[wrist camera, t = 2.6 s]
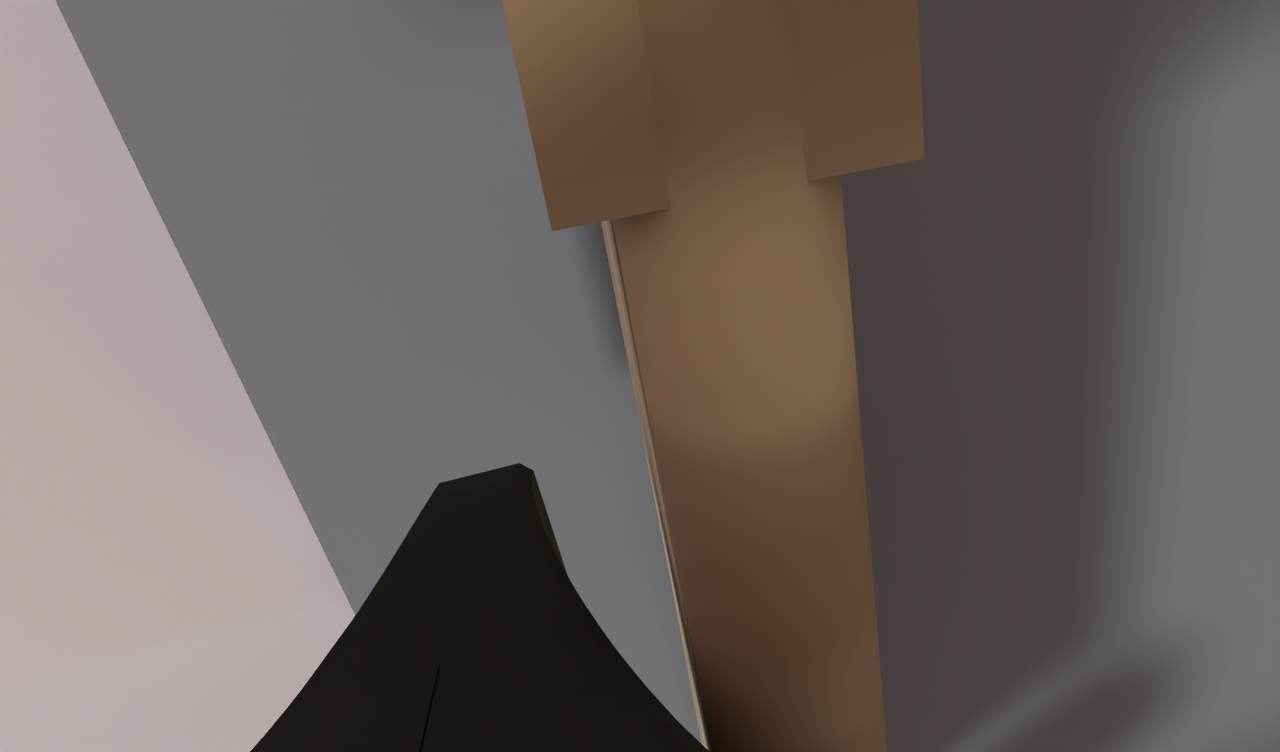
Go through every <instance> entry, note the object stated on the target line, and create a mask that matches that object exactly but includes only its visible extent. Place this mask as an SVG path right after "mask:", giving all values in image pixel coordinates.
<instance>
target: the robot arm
mask: <svg viewBox="0 0 1280 752" xmlns="http://www.w3.org/2000/svg"><path fill="white" fill-rule="evenodd" d="M250 752H710V751H708V750H707V749H706V748H705V747H704V746H703V745H702V744H701V743H700V742H699V741H698V740H697V739H696V738H695V737H694V736H693V735H692V734H691V733H690V732H689V731H688V730H687V729H685V728H684V727H683V726H682V725H681V724H680V723H679V722H678V721H677V720H676V719H675V717H674V716H673V715H672V714H671V713H670V712H669V711H668V710H667V709H666V708H665V706H664V705H663V704H662V703H661V702H660V701H659V700H658V699H657V698H656V696H655V695H654V694H653V693H652V692H651V691H650V690H649V689H648V688H647V686H646V685H645V684H644V683H643V682H642V680H641V679H640V678H639V677H638V676H637V674H636V673H635V672H634V671H633V669H632V668H631V667H630V666H629V665H628V663H627V662H626V661H625V660H624V658H623V657H622V656H621V655H620V653H619V652H618V651H617V649H616V648H615V647H614V645H613V644H612V643H611V641H610V640H609V639H608V637H607V636H606V634H605V633H604V632H603V630H602V629H601V627H600V626H599V624H598V623H597V621H596V620H595V619H594V617H593V616H592V614H591V613H590V611H589V610H588V608H587V607H586V605H585V604H584V602H583V601H582V599H581V597H580V596H579V594H578V592H577V591H576V589H575V588H574V586H573V584H572V583H571V581H570V579H569V577H568V575H567V572H566V569H565V566H564V563H563V560H562V557H561V554H560V550H559V547H558V544H557V541H556V538H555V535H554V532H553V529H552V526H551V523H550V520H549V517H548V514H547V511H546V508H545V504H544V501H543V498H542V495H541V492H540V489H539V486H538V483H537V480H536V477H535V474H534V471H533V470H532V469H530V468H528V467H526V466H524V465H522V464H520V463H517V464H513V465H509V466H505V467H501V468H497V469H493V470H489V471H485V472H481V473H477V474H473V475H469V476H465V477H461V478H457V479H453V480H449V481H445V482H442V483H439V484H438V486H437V487H436V489H435V490H434V492H433V493H432V495H431V496H430V498H429V500H428V501H427V503H426V504H425V506H424V507H423V509H422V510H421V512H420V514H419V515H418V517H417V519H416V520H415V522H414V523H413V525H412V527H411V528H410V530H409V532H408V533H407V535H406V537H405V538H404V540H403V541H402V543H401V545H400V546H399V548H398V550H397V551H396V553H395V554H394V556H393V558H392V559H391V561H390V563H389V564H388V566H387V567H386V569H385V571H384V572H383V574H382V575H381V577H380V578H379V580H378V582H377V583H376V585H375V586H374V588H373V589H372V591H371V592H370V594H369V595H368V597H367V598H366V600H365V601H364V603H363V605H362V606H361V608H360V609H359V611H358V612H357V614H356V615H355V617H354V618H353V620H352V621H351V623H350V624H349V626H348V627H347V628H346V630H345V631H344V632H343V634H342V635H341V637H340V638H339V639H338V641H337V642H336V643H335V645H334V646H333V648H332V649H331V650H330V652H329V653H328V654H327V656H326V657H325V658H324V660H323V661H322V663H321V664H320V665H319V667H318V668H317V669H316V671H315V672H314V674H313V675H312V676H311V678H310V679H309V680H308V682H307V683H306V685H305V686H304V687H303V689H302V690H301V691H300V693H299V694H298V695H297V696H296V698H295V699H294V700H293V701H292V703H291V704H290V705H289V706H288V708H287V709H286V710H285V711H284V713H283V714H282V715H281V716H280V717H279V719H278V720H277V721H276V722H275V724H274V725H273V726H272V727H271V728H270V730H269V731H268V732H267V733H266V734H265V735H264V737H263V738H262V739H261V740H260V741H259V742H258V743H257V745H256V746H255V747H254V748H253V749H252V750H251V751H250Z"/></svg>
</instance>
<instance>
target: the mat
mask: <svg viewBox="0 0 1280 752" xmlns="http://www.w3.org/2000/svg"><path fill="white" fill-rule="evenodd" d="M56 2H57V4H58V6H59V8H60V11H61V13H62V15H63V17H64V19H65V21H66V23H67V25H68V27H69V29H70V31H71V33H72V35H73V37H74V39H75V41H76V43H77V45H78V47H79V49H80V51H81V54H82V56H83V58H84V60H85V62H86V64H87V66H88V68H89V70H90V72H91V74H92V76H93V78H94V80H95V82H96V84H97V86H98V88H99V90H100V92H101V95H102V97H103V99H104V101H105V103H106V105H107V107H108V109H109V111H110V113H111V115H112V117H113V119H114V121H115V123H116V125H117V127H118V129H119V131H120V133H121V136H122V138H123V140H124V142H125V144H126V146H127V148H128V150H129V152H130V154H131V156H132V158H133V160H134V162H135V164H136V166H137V168H138V170H139V172H140V174H141V177H142V179H143V181H144V183H145V185H146V187H147V189H148V191H149V193H150V195H151V197H152V199H153V201H154V203H155V205H156V207H157V209H158V211H159V213H160V215H161V218H162V220H163V222H164V224H165V226H166V228H167V230H168V232H169V234H170V236H171V238H172V240H173V242H174V244H175V246H176V248H177V250H178V252H179V254H180V256H181V259H182V261H183V263H184V265H185V267H186V269H187V271H188V273H189V275H190V277H191V279H192V281H193V283H194V285H195V287H196V289H197V291H198V293H199V295H200V297H201V300H202V302H203V304H204V306H205V308H206V310H207V312H208V314H209V316H210V318H211V320H212V322H213V324H214V326H215V328H216V330H217V332H218V334H219V336H220V338H221V341H222V343H223V345H224V347H225V349H226V351H227V353H228V355H229V357H230V359H231V361H232V363H233V365H234V367H235V369H236V371H237V373H238V375H239V377H240V379H241V382H242V384H243V386H244V388H245V390H246V392H247V394H248V396H249V398H250V400H251V402H252V404H253V406H254V408H255V410H256V412H257V414H258V416H259V418H260V420H261V423H262V425H263V427H264V429H265V431H266V433H267V435H268V437H269V439H270V441H271V443H272V445H273V447H274V449H275V451H276V453H277V455H278V457H279V459H280V461H281V464H282V466H283V468H284V470H285V472H286V474H287V476H288V478H289V480H290V482H291V484H292V486H293V488H294V490H295V492H296V494H297V496H298V498H299V500H300V502H301V505H302V507H303V509H304V511H305V513H306V515H307V517H308V519H309V521H310V523H311V525H312V527H313V529H314V531H315V533H316V535H317V537H318V539H319V541H320V543H321V546H322V548H323V550H324V552H325V554H326V556H327V558H328V560H329V562H330V564H331V566H332V568H333V570H334V572H335V574H336V576H337V578H338V580H339V582H340V584H341V587H342V589H343V591H344V593H345V595H346V597H347V599H348V601H349V603H350V605H351V607H352V609H353V611H354V613H355V615H356V614H357V612H358V611H359V609H360V608H361V606H362V605H363V603H364V601H365V600H366V598H367V597H368V595H369V594H370V592H371V591H372V589H373V588H374V586H375V585H376V583H377V582H378V580H379V578H380V577H381V575H382V574H383V572H384V571H385V569H386V567H387V566H388V564H389V563H390V561H391V559H392V558H393V556H394V554H395V553H396V551H397V550H398V548H399V546H400V545H401V543H402V541H403V540H404V538H405V537H406V535H407V533H408V532H409V530H410V528H411V527H412V525H413V523H414V522H415V520H416V519H417V517H418V515H419V514H420V512H421V510H422V509H423V507H424V506H425V504H426V503H427V501H428V500H429V498H430V496H431V495H432V493H433V492H434V490H435V489H436V487H437V486H438V484H439V483H442V482H445V481H449V480H453V479H457V478H461V477H465V476H469V475H473V474H477V473H481V472H485V471H489V470H493V469H497V468H501V467H505V466H509V465H513V464H517V463H520V464H522V465H524V466H526V467H528V468H530V469H532V470H533V471H534V474H535V477H536V480H537V483H538V486H539V489H540V492H541V495H542V498H543V501H544V504H545V508H546V511H547V514H548V517H549V520H550V523H551V526H552V529H553V532H554V535H555V538H556V541H557V544H558V547H559V550H560V554H561V557H562V560H563V563H564V566H565V569H566V572H567V575H568V577H569V579H570V581H571V583H572V584H573V586H574V588H575V589H576V591H577V592H578V594H579V596H580V597H581V599H582V601H583V602H584V604H585V605H586V607H587V608H588V610H589V611H590V613H591V614H592V616H593V617H594V619H595V620H596V621H597V623H598V624H599V626H600V627H601V629H602V630H603V632H604V633H605V634H606V636H607V637H608V639H609V640H610V641H611V643H612V644H613V645H614V647H615V648H616V649H617V651H618V652H619V653H620V655H621V656H622V657H623V658H624V660H625V661H626V662H627V663H628V665H629V666H630V667H631V668H632V669H633V671H634V672H635V673H636V674H637V676H638V677H639V678H640V679H641V680H642V682H643V683H644V684H645V685H646V686H647V688H648V689H649V690H650V691H651V692H652V693H653V694H654V695H655V696H656V698H657V699H658V700H659V701H660V702H661V703H662V704H663V705H664V706H665V708H666V709H667V710H668V711H669V712H670V713H671V714H672V715H673V716H674V717H675V719H676V720H677V721H678V722H679V723H680V724H681V725H682V726H683V727H684V728H685V729H687V730H688V731H689V732H690V733H691V734H692V735H693V736H694V737H695V738H696V739H697V740H698V741H699V742H700V743H701V744H702V742H701V737H700V731H699V726H698V721H697V716H696V711H695V705H694V700H693V695H692V690H691V685H690V680H689V674H688V669H687V664H686V659H685V654H684V649H683V643H682V638H681V633H680V628H679V623H678V618H677V612H676V607H675V602H674V597H673V592H672V587H671V581H670V576H669V571H668V566H667V561H666V556H665V550H664V545H663V540H662V535H661V530H660V525H659V519H658V514H657V509H656V504H655V499H654V494H653V488H652V483H651V478H650V473H649V468H648V462H647V457H646V452H645V447H644V442H643V437H642V431H641V426H640V421H639V416H638V411H637V406H636V400H635V395H634V390H633V385H632V380H631V375H630V369H629V364H628V359H627V354H626V349H625V344H624V338H623V333H622V328H621V323H620V318H619V313H618V307H617V302H616V297H615V292H614V287H613V282H612V276H611V271H610V266H609V261H608V256H607V251H606V245H605V240H604V235H603V230H602V225H601V222H598V223H593V224H588V225H583V226H578V227H572V228H567V229H562V230H557V231H552V230H551V225H550V220H549V216H548V211H547V207H546V202H545V197H544V193H543V188H542V184H541V179H540V174H539V170H538V165H537V161H536V156H535V151H534V147H533V142H532V138H531V133H530V128H529V124H528V119H527V115H526V110H525V105H524V101H523V96H522V92H521V87H520V82H519V78H518V73H517V69H516V64H515V59H514V55H513V50H512V45H511V41H510V36H509V32H508V27H507V22H506V18H505V13H504V9H503V4H502V0H56ZM918 16H919V39H920V63H921V87H922V111H923V135H924V159H920V160H914V161H909V162H904V163H899V164H894V165H889V166H884V167H879V168H874V169H868V170H863V171H858V172H853V173H848V174H843V175H841V184H842V197H843V209H844V222H845V234H846V247H847V259H848V272H849V284H850V296H851V309H852V321H853V334H854V346H855V359H856V371H857V384H858V396H859V409H860V421H861V433H862V446H863V458H864V471H865V483H866V496H867V508H868V521H869V533H870V546H871V558H872V570H873V583H874V595H875V608H876V620H877V633H878V645H879V658H880V670H881V683H882V695H883V707H884V720H885V732H886V745H887V752H1280V0H918Z"/></svg>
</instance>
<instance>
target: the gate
mask: <svg viewBox="0 0 1280 752" xmlns="http://www.w3.org/2000/svg"><path fill="white" fill-rule="evenodd" d="M502 4H503V9H504V13H505V18H506V22H507V27H508V32H509V36H510V41H511V45H512V50H513V55H514V59H515V64H516V69H517V73H518V78H519V82H520V87H521V92H522V96H523V101H524V105H525V110H526V115H527V119H528V124H529V128H530V133H531V138H532V142H533V147H534V151H535V156H536V161H537V165H538V170H539V174H540V179H541V184H542V188H543V193H544V197H545V202H546V207H547V211H548V216H549V220H550V225H551V230H552V231H557V230H562V229H567V228H572V227H578V226H583V225H588V224H593V223H598V222H601V225H602V230H603V235H604V240H605V245H606V251H607V256H608V261H609V266H610V271H611V276H612V282H613V287H614V292H615V297H616V302H617V307H618V313H619V318H620V323H621V328H622V333H623V338H624V344H625V349H626V354H627V359H628V364H629V369H630V375H631V380H632V385H633V390H634V395H635V400H636V406H637V411H638V416H639V421H640V426H641V431H642V437H643V442H644V447H645V452H646V457H647V462H648V468H649V473H650V478H651V483H652V488H653V494H654V499H655V504H656V509H657V514H658V519H659V525H660V530H661V535H662V540H663V545H664V550H665V556H666V561H667V566H668V571H669V576H670V581H671V587H672V592H673V597H674V602H675V607H676V612H677V618H678V623H679V628H680V633H681V638H682V643H683V649H684V654H685V659H686V664H687V669H688V674H689V680H690V685H691V690H692V695H693V700H694V705H695V711H696V716H697V721H698V726H699V731H700V737H701V742H702V745H703V746H704V747H705V748H706V749H707V750H708V751H710V752H887V745H886V732H885V720H884V707H883V695H882V683H881V670H880V658H879V645H878V633H877V620H876V608H875V595H874V583H873V570H872V558H871V546H870V533H869V521H868V508H867V496H866V483H865V471H864V458H863V446H862V433H861V421H860V409H859V396H858V384H857V371H856V359H855V346H854V334H853V321H852V309H851V296H850V284H849V272H848V259H847V247H846V234H845V222H844V209H843V197H842V184H841V175H843V174H848V173H853V172H858V171H863V170H868V169H874V168H879V167H884V166H889V165H894V164H899V163H904V162H909V161H914V160H920V159H924V135H923V111H922V87H921V63H920V39H919V16H918V0H502Z"/></svg>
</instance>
